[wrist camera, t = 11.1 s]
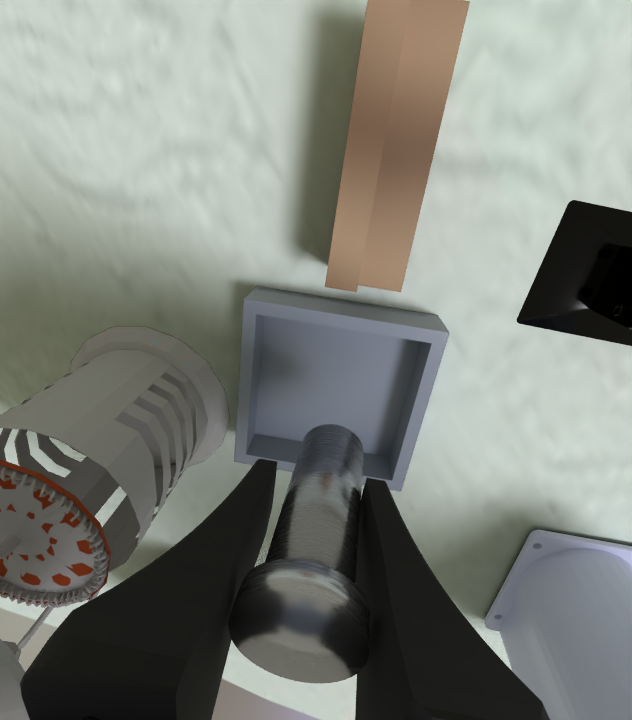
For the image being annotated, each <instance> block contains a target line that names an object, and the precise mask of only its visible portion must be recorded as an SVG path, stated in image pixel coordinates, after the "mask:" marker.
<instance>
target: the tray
mask: <svg viewBox="0 0 632 720" xmlns="http://www.w3.org/2000/svg"><path fill="white" fill-rule="evenodd" d="M448 336H449V331H448V330H447V328H446V327H445V325H444V324H443V322H442V321H441V319H440V318H439V316H438V315H432V314H425V313H419V312H413V311H407V310H401V309H395V308H389V307H382V306H376V305H370V304H364V303H358V302H352V301H346V300H339V299H333V298H327V297H321V296H315V295H309V294H303V293H296V292H290V291H284V290H278V289H272V288H266V287H260V286H257V287H256V288H255V289H254V290H253V291H252V292H251V293H250V294H249V295H247V296H246V297H245V298H244V302H243V319H242V336H241V353H240V370H239V387H238V403H237V420H236V437H235V454H234V462H240V463H245V464H251V465H254V464H255V462H256V461H257V460H258V459H266V460H272V461H277V469H279V470H284V471H290V472H293V471H294V468H295V464H296V461H297V458H298V455H299V452H300V448H301V445H302V442H303V439H304V437H305V436H306V434H307V433H308V432H309V431H310V430H312V429H313V428H315V427H317V426H320V425H325V424H334V425H339V426H343V427H345V428H347V429H349V430H351V431H352V432H353V433H355V434H356V435H357V437H358V438H359V439H360V441H361V443H362V445H363V450H364V456H363V471H362V485H365V482H366V478H372V479H378V480H384V481H385V482H386V483H387V485H388V488H389V489H390V490H396V491H401V489H402V486H403V483H404V480H405V476H406V473H407V470H408V467H409V463H410V460H411V457H412V454H413V450H414V447H415V444H416V441H417V437H418V434H419V431H420V428H421V424H422V421H423V418H424V414H425V411H426V408H427V405H428V401H429V398H430V395H431V392H432V388H433V385H434V382H435V379H436V375H437V372H438V369H439V366H440V362H441V359H442V356H443V352H444V349H445V346H446V343H447V339H448Z"/></svg>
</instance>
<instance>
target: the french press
mask: <svg viewBox="0 0 632 720" xmlns="http://www.w3.org/2000/svg"><path fill="white" fill-rule="evenodd" d="M33 397H34V398H33ZM229 420H230V418H229V412H228V406H227V400H226V394H225V389H224V388H223V386H222V385H221V383H220V381H219V380H218V378H217V377H216V375H215V373H214V372H213V370H212V368H211V367H210V365H209V364H208V362H207V361H206V360H205V359H203V358H202V357H201V356H200V355H198V354H197V353H196V352H195V351H193V350H192V349H191V348H190V347H188V346H187V345H186V344H185V343H183V342H182V341H181V340H180V339H178V338H175V337H172V336H170V335H167V334H164V333H161V332H159V331H156V330H153V329H150V328H148V327H111V328H109V329H107V330H105V331H103V332H101V333H99V334H97V335H95V336H93V337H91V338H89V339H87V340H85V342H84V343H83V345H82V346H81V348H80V349H79V351H78V352H77V354H76V356H75V357H74V359H73V360H72V362H71V368H70V372H69V373H68V374H66V375H65V376H64V377H63V378H61V379H59V380H56V381H55V382H53V383H52V384H50V385H49V386H47V387H46V388H45V389H44V390H43V391H40V392H38V393H35V394H34V395H32V396H31V397H29V398H28V399H26V400H25V401H24V402H23V403H22V404H21V405H19V406H16V407H14V408H11V409H9V410H8V411H6V412H5V413H3V414H2V415H0V428H3V430H2V433H1V435H0V594H1V595H0V596H1V597H3V598H7V597H9V598H10V599H11V601H14V600H15V599H18V601H17V603H18V604H19V603H22V602H26V604H27V606H29V605H31V604H34V605H35V606H36V607H37V606H38V605H40V604H41V607H46V606H47V608H46V609H45V610H44V612H43V613H42V614H41V615H40V617H39V618H38V619H37V621H36V622H35V623H34V625H33V626H32V627H31V628H30V630H29V631H28V632H27V633H26V635H25V636H24V637H23V638H22V640H21V641H20V642H19V644H18V645H16V644H15V643H13V642H7V641H2V640H1V639H0V720H30V719H29V716H28V713H27V710H26V708H25V705H24V702H23V699H22V696H21V688H20V682H21V680H22V678H23V676H24V674H25V671H24V670H23V668H22V666H21V665H20V663H19V661H18V660H19V656H20V653H21V649H22V648H23V647H24V646H25V645H26V644H27V642H28V641H29V640H30V638H31V637H32V636H33V634H34V633H35V632H36V630H37V629H38V627H39V626H40V625H41V624H42V623H43V621H44V620H45V619H46V617H47V616H48V615H49V613H50V612H51V611H52V609H53V608H54V607H57V608H58V607H61V606H68V605H70V604H73V603H76V602H83V601H85V600H88V599H89V601H91V600H92V599H94V598H96V597H97V595H98V593H99V591H100V589H101V588H102V587H103V586H104V585H105V584H106V583H107V577H108V572H111V571H114V570H116V569H117V568H118V567H120V566H121V565H122V564H124V563H125V562H126V561H127V560H128V558H129V557H130V555H131V554H132V552H133V551H134V550H135V548H136V547H137V545H138V544H139V542H140V541H141V539H142V538H143V536H144V535H145V533H146V531H147V530H148V528H149V527H150V525H151V522H152V521H153V519H154V518H155V516H156V515H157V513H158V512H159V510H160V509H161V507H162V506H163V504H164V503H165V500H166V498H167V497H168V495H169V494H170V492H171V491H172V490H173V488H174V487H175V485H176V484H177V481H178V479H179V478H180V476H181V475H182V473H183V472H184V470H185V469H186V467H188V466H191V465H194V464H197V463H200V462H203V461H205V460H206V459H207V458H208V457H209V456H210V455H211V454H212V453H213V452H214V451H215V450H216V449H217V448H218V447H219V446H220V445H221V444H222V442H223V439H224V436H225V433H226V429H227V426H228V423H229ZM12 429H19V432H18V434H17V436H16V439H15V441H14V442H15V447H16V453H17V458H18V463H19V465H20V466H18V465H15V464H12V463H9V462H6V458H5V452H4V448H5V445H6V443H7V440H8V438H9V435H10V432H11V430H12ZM27 430H30V431H33V432H36V433H37V438H38V444H39V448H40V449H41V450H42V451H43V452H44V453H45V454H46V455H47V456H48V457H49V458H51V459H52V460H53V461H54V462H55V463H56V464H58V465H60V466H62V467H64V468H66V469H68V470H70V471H72V472H71V473H70V474H69V475H67V476H66V477H65V478H64V477H61V476H59V475H56V474H54V473H51V472H49V471H47V470H46V469H45V468H44V467H43V466H42V465H40V464H39V463H38V462H37V461H36V460H35V459H34V458H33V457H32V456H31V455H30V450H29V445H28V440H27V435H26V433H27ZM49 437H52V438H55V439H57V440H59V441H61V442H63V443H65V444H67V445H69V446H70V447H71V448H72V449H73V450H75V451H77V452H79V453H81V454H83V455H85V456H87V457H86V458H85V459H84V460H83V461H82V462H79V461H77V460H75V459H72V458H70V457H68V456H66V455H64V454H63V453H62V452H61V451H60V450H59V449H58V448H57V447H56V446H55V445H54V444H53V443H52V442H51V441H50V439H49ZM181 471H182V473H181V475H180V476H179V473H180V472H181ZM119 485H120V487H121V488H122V489H123V490H124V492H125V493H126V494H127V496H126V497H125V498H124V500H123V501H122V502H121V504H120V505H119V506H118V508H117V509H116V510H115V511H114V513H113V514H112V515H111V517H110V518H109V519H108V521H107V522H106V523H105V525H104V526H103V527H101V524H100V522H99V521H98V520H97V519H96V518H95V517H94V516H95V515H96V513H97V512H98V511H99V510H100V509H101V507H102V506H103V505H104V504H105V502H106V501H107V500H108V499H109V498H110V496H111V495H112V494H113V493H114V491H115V490H116V489H117V488H118V487H119ZM170 487H172V488H171V491H170V492H169V493H168V494H167V492H168V488H170ZM157 506H159V509H158V512H157V513H156V514H153V513H154V509H155V507H157ZM138 533H139V537H138V538H136V536H137V535H138ZM89 601H88V602H89Z"/></svg>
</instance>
